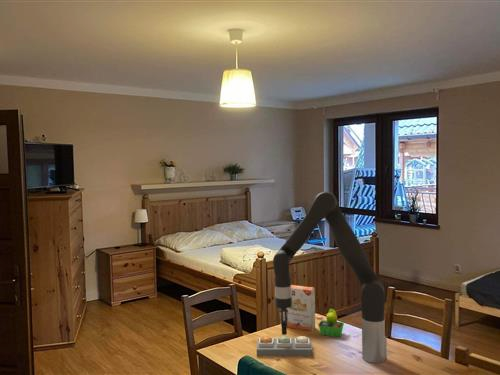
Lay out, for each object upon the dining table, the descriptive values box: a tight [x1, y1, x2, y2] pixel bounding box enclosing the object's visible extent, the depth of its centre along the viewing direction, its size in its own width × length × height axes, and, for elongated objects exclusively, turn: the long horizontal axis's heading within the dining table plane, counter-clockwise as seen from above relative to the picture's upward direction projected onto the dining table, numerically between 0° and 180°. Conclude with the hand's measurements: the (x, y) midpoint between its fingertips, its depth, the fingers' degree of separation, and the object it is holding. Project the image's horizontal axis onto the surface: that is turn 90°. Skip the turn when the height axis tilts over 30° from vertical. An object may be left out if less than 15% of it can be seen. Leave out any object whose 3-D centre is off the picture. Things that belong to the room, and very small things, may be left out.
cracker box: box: [286, 284, 316, 332], centre depth 223 cm, size 14×6×21 cm, turn 62°
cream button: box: [296, 335, 308, 343], centre depth 196 cm, size 4×4×2 cm
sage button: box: [278, 335, 290, 343], centre depth 197 cm, size 4×4×2 cm
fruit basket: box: [318, 308, 345, 338], centre depth 215 cm, size 11×9×11 cm
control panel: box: [256, 337, 313, 357], centre depth 197 cm, size 24×12×4 cm, turn 87°
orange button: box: [260, 335, 272, 343], centre depth 197 cm, size 4×4×2 cm
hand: (284, 334), depth 196 cm, fingers closed
